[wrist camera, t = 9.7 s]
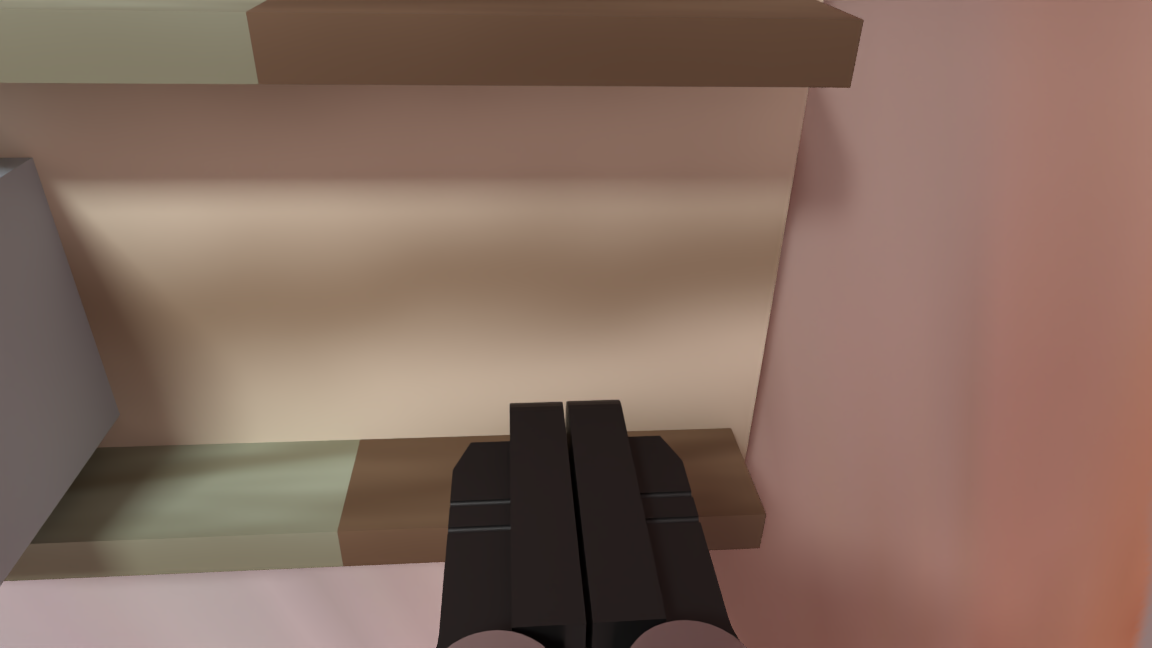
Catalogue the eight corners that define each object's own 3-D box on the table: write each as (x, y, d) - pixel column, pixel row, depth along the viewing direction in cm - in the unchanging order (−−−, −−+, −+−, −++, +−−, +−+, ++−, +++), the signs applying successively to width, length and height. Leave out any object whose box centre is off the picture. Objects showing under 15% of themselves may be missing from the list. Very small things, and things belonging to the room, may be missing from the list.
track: (-1151, -153, 12) (-1823, -162, 8) (820, -102, 14) (919, -92, 11) (-526, 523, 19) (-754, 668, 16) (728, 477, 22) (771, 593, 18)
